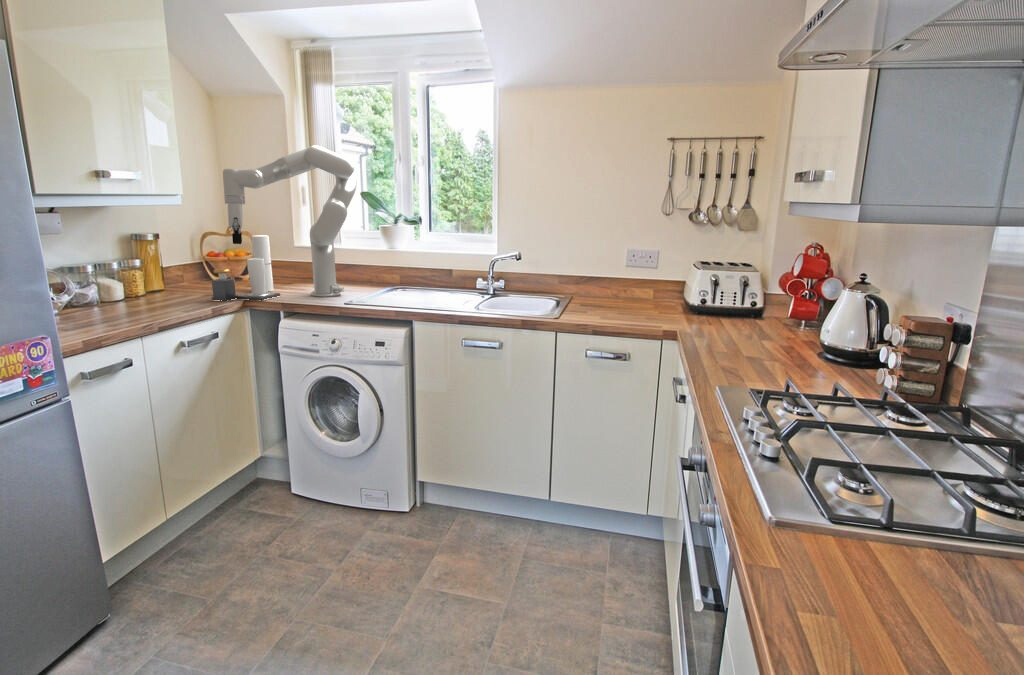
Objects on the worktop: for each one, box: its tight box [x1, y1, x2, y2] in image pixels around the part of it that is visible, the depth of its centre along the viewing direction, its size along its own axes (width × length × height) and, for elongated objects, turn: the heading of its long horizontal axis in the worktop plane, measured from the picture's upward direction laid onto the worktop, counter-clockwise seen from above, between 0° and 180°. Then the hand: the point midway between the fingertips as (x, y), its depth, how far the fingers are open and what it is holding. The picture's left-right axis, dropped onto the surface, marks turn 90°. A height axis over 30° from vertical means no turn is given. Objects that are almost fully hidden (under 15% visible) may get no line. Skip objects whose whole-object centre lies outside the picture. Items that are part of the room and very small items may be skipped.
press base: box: [211, 278, 281, 302], centre depth 242 cm, size 20×18×8 cm
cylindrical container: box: [250, 234, 275, 292], centre depth 259 cm, size 7×7×25 cm
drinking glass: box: [246, 257, 266, 295], centre depth 242 cm, size 7×7×15 cm
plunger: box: [213, 268, 231, 280], centre depth 237 cm, size 6×6×8 cm
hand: (237, 242), depth 236 cm, fingers open, 9 cm apart
